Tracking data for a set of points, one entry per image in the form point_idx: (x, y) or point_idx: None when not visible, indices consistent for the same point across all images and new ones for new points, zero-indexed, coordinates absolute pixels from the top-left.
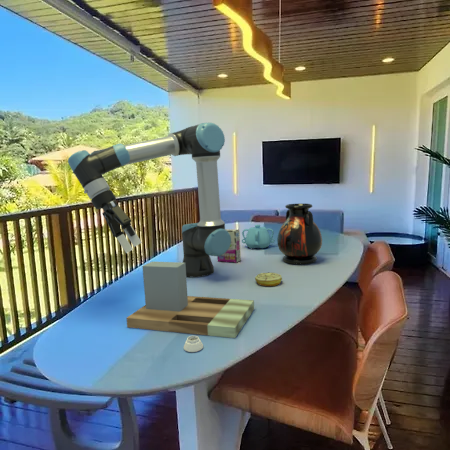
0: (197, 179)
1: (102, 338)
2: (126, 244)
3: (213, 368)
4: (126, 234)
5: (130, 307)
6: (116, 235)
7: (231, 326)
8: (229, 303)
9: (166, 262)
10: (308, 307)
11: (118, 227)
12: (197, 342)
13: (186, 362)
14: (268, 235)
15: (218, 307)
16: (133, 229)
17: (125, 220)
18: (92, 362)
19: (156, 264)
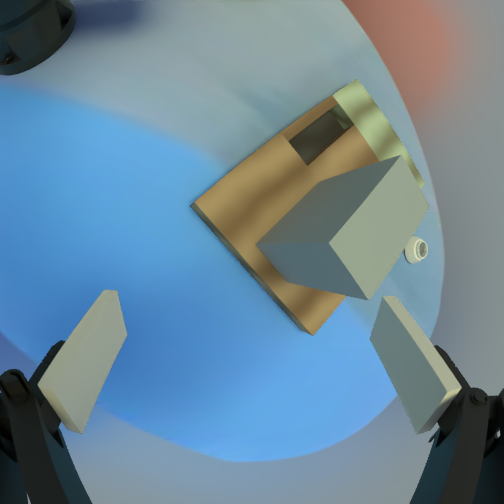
0: None
1: (318, 375)
2: (102, 343)
3: (442, 251)
4: (404, 403)
5: (175, 298)
6: (63, 439)
7: (421, 184)
8: (352, 115)
9: (373, 200)
10: (369, 44)
11: (63, 476)
12: (424, 246)
13: (427, 272)
14: None
15: (361, 144)
16: (443, 362)
17: (476, 445)
18: (374, 382)
19: (379, 245)
